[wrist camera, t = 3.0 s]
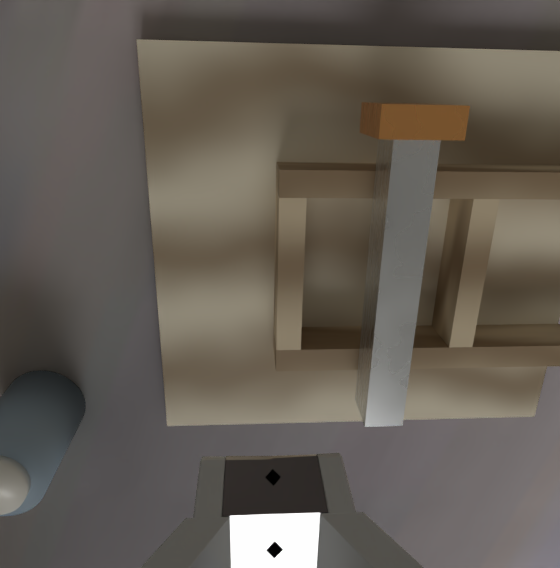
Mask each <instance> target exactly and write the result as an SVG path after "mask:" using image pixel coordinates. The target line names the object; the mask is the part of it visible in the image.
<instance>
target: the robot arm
mask: <svg viewBox="0 0 560 568" xmlns="http://www.w3.org/2000/svg"><path fill="white" fill-rule="evenodd" d="M141 568H424V567H422V566H421V565H420V564H419V563H418V562H417V561H416V560H415V559H414V558H413V557H411V556H410V555H409V554H408V553H407V552H406V551H405V550H404V549H403V548H402V547H401V546H399V545H398V544H397V543H396V542H395V541H394V540H393V539H392V538H391V537H390V536H389V535H387V534H386V533H385V532H384V531H383V530H382V529H381V528H380V527H379V526H378V525H376V524H375V523H374V522H373V521H372V520H371V519H370V518H369V517H368V516H367V515H366V514H364V513H363V512H357V513H356V510H355V506H354V502H353V498H352V494H351V490H350V487H349V483H348V479H347V475H346V471H345V467H344V463H343V459H342V456H341V455H340V454H339V453H330V454H317V455H287V456H226V457H202V459H201V461H200V468H199V476H198V483H197V491H196V499H195V507H194V514H193V518H186V519H185V520H184V521H183V522H182V523H181V524H180V525H179V526H178V527H177V529H176V530H175V531H174V532H173V533H172V534H171V535H170V536H169V537H168V538H167V540H166V541H165V542H164V543H163V544H162V545H161V546H160V547H159V548H158V549H157V551H156V552H155V553H154V554H153V555H152V556H151V557H150V558H149V559H148V560H147V562H146V563H145V564H144V565H143V566H142V567H141Z"/></svg>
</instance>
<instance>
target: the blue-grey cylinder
mask: <svg viewBox="0 0 560 568" xmlns="http://www.w3.org/2000/svg"><path fill="white" fill-rule="evenodd" d="M85 407H86V406H85V400H84V397H83V394H82V392H81V391H80V389H79V388H78V387H77V386H76V385H75V384H74V383H73V382H72V381H71V380H69V379H68V378H66V377H64V376H62V375H60V374H57V373H54V372H50V371H33V372H28V373H25V374H23V375H21V376H19V377H18V378H16V379H15V380H14V381H13V382H12V384H11V385H10V386H9V387H8V389H7V390H6V391H5V392H4V394H3V395H2V396H1V397H0V516H13V515H18V514H21V513H24V512H27V511H29V510H31V509H32V508H34V507H35V506H36V505H37V504H38V503H39V502H40V501H41V500H42V498H43V497H44V495H45V493H46V491H47V489H48V487H49V485H50V483H51V481H52V479H53V477H54V475H55V473H56V471H57V469H58V467H59V465H60V463H61V461H62V459H63V457H64V455H65V453H66V451H67V449H68V447H69V445H70V443H71V441H72V439H73V437H74V435H75V432H76V430H77V428H78V426H79V424H80V422H81V420H82V418H83V416H84V413H85Z"/></svg>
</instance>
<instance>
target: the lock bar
mask: <svg viewBox="0 0 560 568" xmlns="http://www.w3.org/2000/svg"><path fill="white" fill-rule="evenodd" d="M469 110H470V106H468V105H451V104H427V103H376V102H362V104H361V118H360V131H359V133H362V134H365V135H368V136H371V137H373V138H376V139H378V147H377V159H376V170H375V181H374V192H373V203H372V215H371V226H370V237H369V248H368V259H367V271H366V282H365V293H364V304H363V315H362V326H361V338H360V349H359V360H358V371H357V382H356V394H355V401H356V404H357V406H358V409H359V412H360V415H361V418H362V420H363V423H364V426H365V427H375V426H402V425H403V418H404V411H405V403H406V396H407V388H408V381H409V373H410V366H411V359H412V351H413V344H414V336H415V329H416V321H417V314H418V307H419V299H420V292H421V284H422V277H423V270H424V262H425V255H426V247H427V240H428V232H429V225H430V218H431V210H432V203H433V195H434V188H435V180H436V173H437V166H438V158H439V151H440V143H441V140H459V141H465V136H466V130H467V123H468V117H469Z"/></svg>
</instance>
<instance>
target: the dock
mask: <svg viewBox="0 0 560 568" xmlns="http://www.w3.org/2000/svg"><path fill="white" fill-rule="evenodd" d="M137 51H138V64H139V76H140V89H141V102H142V114H143V127H144V139H145V152H146V165H147V177H148V190H149V202H150V215H151V228H152V240H153V253H154V265H155V278H156V290H157V303H158V316H159V328H160V341H161V353H162V366H163V379H164V391H165V404H166V416H167V426H190V425H228V424H267V423H305V422H343V421H363V420H362V418H361V415H360V412H359V409H358V406H357V404H356V401H355V394H356V382H357V371H358V360H359V349H360V338H361V326H362V315H363V304H364V293H365V282H366V271H367V259H368V248H369V237H370V226H371V215H372V203H373V192H374V181H375V170H376V159H377V147H378V139H376V138H373V137H371V136H368V135H365V134H362V133H359V131H360V118H361V104H362V102H376V103H427V104H451V105H468V106H470V110H469V117H468V123H467V130H466V136H465V141H459V140H441V143H440V151H439V158H438V166H437V173H436V180H435V188H434V195H433V203H432V210H431V218H430V225H429V232H428V240H427V247H426V255H425V262H424V270H423V277H422V284H421V292H420V299H419V307H418V314H417V321H416V329H415V336H414V344H413V351H412V359H411V366H410V373H409V381H408V388H407V396H406V403H405V411H404V418H403V420H420V419H459V418H497V417H534V416H535V412H536V408H537V404H538V400H539V396H540V392H541V388H542V384H543V380H544V376H545V373H546V369H547V366H560V324H558V321H559V317H560V51H539V50H503V49H467V48H430V47H394V46H358V45H322V44H286V43H249V42H213V41H177V40H141V39H137Z"/></svg>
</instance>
